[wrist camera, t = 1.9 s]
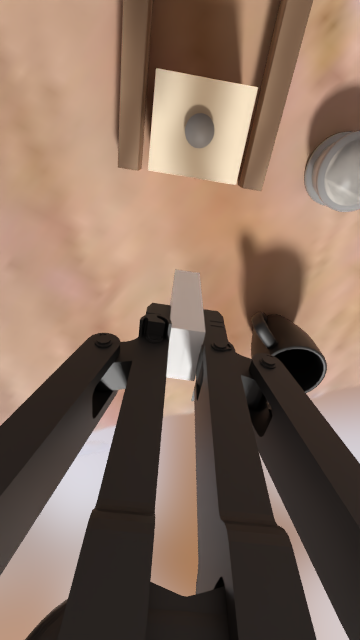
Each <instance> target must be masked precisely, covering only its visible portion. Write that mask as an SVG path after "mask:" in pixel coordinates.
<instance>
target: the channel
mask: <svg viewBox="0 0 360 640" xmlns="http://www.w3.org/2000/svg"><path fill="white" fill-rule="evenodd" d="M312 3H313V0H281V1H280V5H279V10H278V14H277V18H276V23H275V27H274V32H273V36H272V40H271V45H270V49H269V53H268V58H267V62H266V66H265V71H264V75H263V79H262V84H261V88H260V92H259V97H258V101H257V105H256V110H255V114H254V118H253V123H252V127H251V131H250V136H249V140H248V144H247V149H246V153H245V157H244V162H243V166H242V170H241V175H240V179H239V183H238V185H239V186H240V187H242V188H245V189H251V190H257V191H262V187H263V183H264V180H265V176H266V172H267V168H268V165H269V161H270V157H271V154H272V150H273V146H274V143H275V139H276V135H277V132H278V128H279V124H280V121H281V117H282V113H283V109H284V106H285V102H286V98H287V95H288V91H289V87H290V84H291V80H292V76H293V73H294V69H295V65H296V62H297V58H298V54H299V50H300V47H301V43H302V39H303V36H304V32H305V28H306V25H307V21H308V17H309V14H310V10H311V6H312ZM152 8H153V0H123V19H122V51H121V82H120V114H119V146H118V167H119V168H125V169H131V170H137V171H138V170H140V169H141V167H142V152H143V138H144V124H145V109H146V95H147V80H148V66H149V51H150V37H151V23H152Z"/></svg>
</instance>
